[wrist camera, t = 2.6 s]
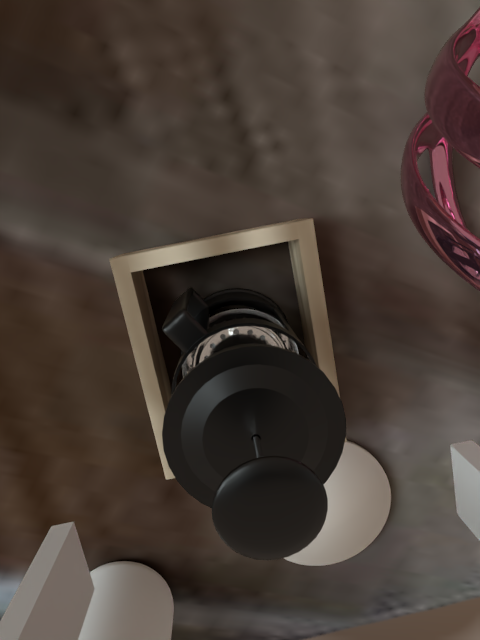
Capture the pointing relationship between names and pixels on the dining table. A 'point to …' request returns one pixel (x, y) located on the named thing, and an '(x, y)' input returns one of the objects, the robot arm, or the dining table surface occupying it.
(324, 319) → the holder
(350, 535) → the trivet
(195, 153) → the dining table surface
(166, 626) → the wine bottle
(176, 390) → the french press
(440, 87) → the spiral basket
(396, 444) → the dining table surface
